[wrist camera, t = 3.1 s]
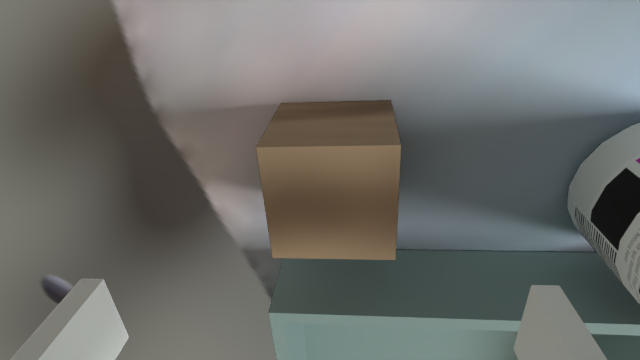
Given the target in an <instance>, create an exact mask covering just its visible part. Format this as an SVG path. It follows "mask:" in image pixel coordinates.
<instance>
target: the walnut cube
mask: <svg viewBox="0 0 640 360" xmlns="http://www.w3.org/2000/svg"><path fill="white" fill-rule="evenodd" d="M256 152H257V158H258V165H259V172H260V178H261V185H262V191H263V198H264V205H265V211H266V218H267V224H268V231H269V238H270V244H271V251H272V258H305V259H364V260H395V259H396V239H397V220H398V200H399V180H400V161H401V142H400V137H399V133H398V129H397V124H396V120H395V116H394V112H393V107H392V103H391V100H379V101H343V102H306V103H281V104H280V106H279V108H278V110H277V111H276V113H275V115H274V117H273V118H272V120H271V122H270V123H269V125H268V127H267V129H266V130H265V132H264V134H263V136H262V137H261V139H260V141H259V143H258V144H257V146H256Z"/></svg>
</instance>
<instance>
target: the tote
mask: <svg viewBox="0 0 640 360" xmlns="http://www.w3.org/2000/svg"><path fill="white" fill-rule="evenodd" d="M531 285H559V286H560V287H561V289H562V290H563V292H564V294H565V295H566V297H567V298H568V300H569V301H570V303H571V304H572V306H573V307H574V309H575V310H576V312H577V314H578V315H579V317H580V318H581V320H582V321H583V323H584V324H585V326H586V327H587V329H588V331H589V332H590V334H591V335H592V337H593V338H594V340H595V341H596V343H597V344H598V346H599V347H600V349H601V351H602V352H603V354H604V355H605V357H606V358H607V360H640V304H639V303H638V302H637V301H636V299H635V298H634V297H633V296H632V295H631V293H630V292H629V291H628V290H627V289H626V287H625V286H624V285H623V284H622V282H621V281H620V280H619V279H618V278H617V276H616V275H615V274H614V273H613V272H612V270H611V269H610V268H609V267H608V266H607V264H606V263H605V262H604V261H603V260H602V258H601V257H600V256H599V255H598V254H597V252H526V251H452V250H396V259H395V260H364V259H305V258H283V259H282V263H281V267H280V270H279V274H278V278H277V282H276V286H275V289H274V293H273V297H272V301H271V305H270V308H269V312H268V313H269V319H270V325H271V331H272V337H273V342H274V348H275V354H276V360H518V358H517V356H516V353H515V351H514V349H513V348H514V345H515V341H516V337H517V334H518V330H519V327H520V323H521V320H522V316H523V313H524V309H525V306H526V302H527V298H528V295H529V291H530V288H531Z"/></svg>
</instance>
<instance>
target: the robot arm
mask: <svg viewBox="0 0 640 360" xmlns="http://www.w3.org/2000/svg"><path fill="white" fill-rule="evenodd" d="M128 338H129V336H128V334H127V332H126V329H125V327H124V325H123V322H122V320H121V318H120V316H119V313H118V311H117V309H116V306H115V304H114V302H113V300H112V297H111V295H110V293H109V291H108V289H107V286H106V284H105V281H104V280H103V279H81V280H80V281H79V282H78V283H77V284H76V285H75V286H74V288H73V289H72V290H71V291H70V292H69V293H68V294H67V295H66V297H65V298H64V299H63V300H62V301H61V302H60V303H59V305H58V306H57V307H56V308H55V309H54V310H53V311H52V312H51V314H50V315H49V316H48V317H47V318H46V319H45V321H44V322H43V323H42V324H41V325H40V326H39V327H38V328H37V330H36V331H35V332H34V333H33V334H32V335H31V336H30V337H29V339H28V340H27V341H26V342H25V343H24V344H23V345H22V347H21V348H20V349H19V350H18V351H17V352H16V353H15V354H14V356H13V357H12V358H11V359H10V360H115V359H116V358H117V356H118V354H119V353H120V351H121V349H122V347H123V346H124V344H125V343H126V341H127V340H128ZM513 349H514V351H515V353H516V356H517V358H518V360H607V358H606V357H605V355H604V354H603V352H602V351H601V349H600V347H599V346H598V344H597V343H596V341H595V340H594V338H593V337H592V335H591V334H590V332H589V331H588V329H587V327H586V326H585V324H584V323H583V321H582V320H581V318H580V317H579V315H578V314H577V312H576V310H575V309H574V307H573V306H572V304H571V303H570V301H569V300H568V298H567V297H566V295H565V294H564V292H563V290H562V289H561V287H560V286H559V285H531V288H530V291H529V295H528V298H527V302H526V306H525V309H524V313H523V316H522V320H521V323H520V327H519V330H518V334H517V337H516V341H515V345H514V348H513Z"/></svg>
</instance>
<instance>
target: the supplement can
mask: <svg viewBox="0 0 640 360" xmlns="http://www.w3.org/2000/svg"><path fill="white" fill-rule="evenodd" d="M567 209H568V211H569V214H570V216H571V219H572V221H573V223H574V226H575V227H576V228H577V229H578V231H579V232H580V233H581V234H582V235H583V237H584V238H585V239H586V240H587V241H588V243H589V244H590V245H591V246H592V247H593V249H594V250H595V251H596V252H597V254H598V255H599V256H600V257H601V258H602V260H603V261H604V262H605V263H606V264H607V266H608V267H609V268H610V269H611V270H612V272H613V273H614V274H615V275H616V276H617V278H618V279H619V280H620V281H621V282H622V284H623V285H624V286H625V287H626V289H627V290H628V291H629V292H630V293H631V295H632V296H633V297H634V298H635V299H636V301H637V302H638V303H639V304H640V123H638V124H635V125H631V126H630V127H628V128H626V129H625V130H623V131H621V132H619V133H618V134H616V135H614V136H613V137H611V138H609V139H608V140H606V141H604V142H602V143H601V144H600V145H599V146H598V147H597V148H596V149H595V150H594V151H593V152H592V153H591V154H590V155H589V156H588V157H587V158H586V159H585V160H584V161H583V162H582V163H581V165H580V167H579V169H578V171H577V172H576V174H575V176H574V178H573V180H572V182H571V184H570V186H569V193H568V203H567Z"/></svg>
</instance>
